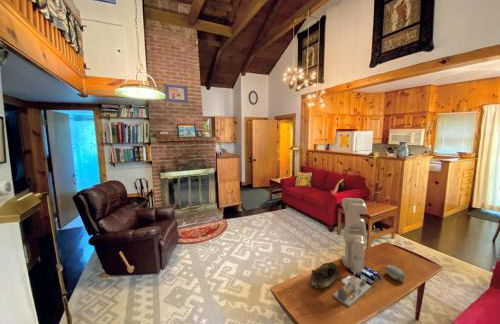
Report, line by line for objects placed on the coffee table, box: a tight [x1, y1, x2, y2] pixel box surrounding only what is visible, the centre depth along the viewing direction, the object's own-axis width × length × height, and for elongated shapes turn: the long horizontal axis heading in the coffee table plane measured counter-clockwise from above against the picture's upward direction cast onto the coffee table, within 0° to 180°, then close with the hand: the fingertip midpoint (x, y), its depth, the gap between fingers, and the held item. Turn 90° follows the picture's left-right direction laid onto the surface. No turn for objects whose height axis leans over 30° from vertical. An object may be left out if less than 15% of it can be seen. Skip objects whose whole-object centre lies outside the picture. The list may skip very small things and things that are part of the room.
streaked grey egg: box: [385, 264, 406, 282], centre depth 163 cm, size 14×10×10 cm
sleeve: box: [348, 274, 360, 291], centre depth 150 cm, size 5×5×8 cm
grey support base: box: [332, 275, 372, 308], centre depth 149 cm, size 12×30×8 cm, turn 124°
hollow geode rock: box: [308, 262, 341, 290], centre depth 160 cm, size 28×13×15 cm
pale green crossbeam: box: [345, 279, 363, 294], centre depth 149 cm, size 2×26×2 cm, turn 124°
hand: (357, 279), depth 152 cm, fingers closed
